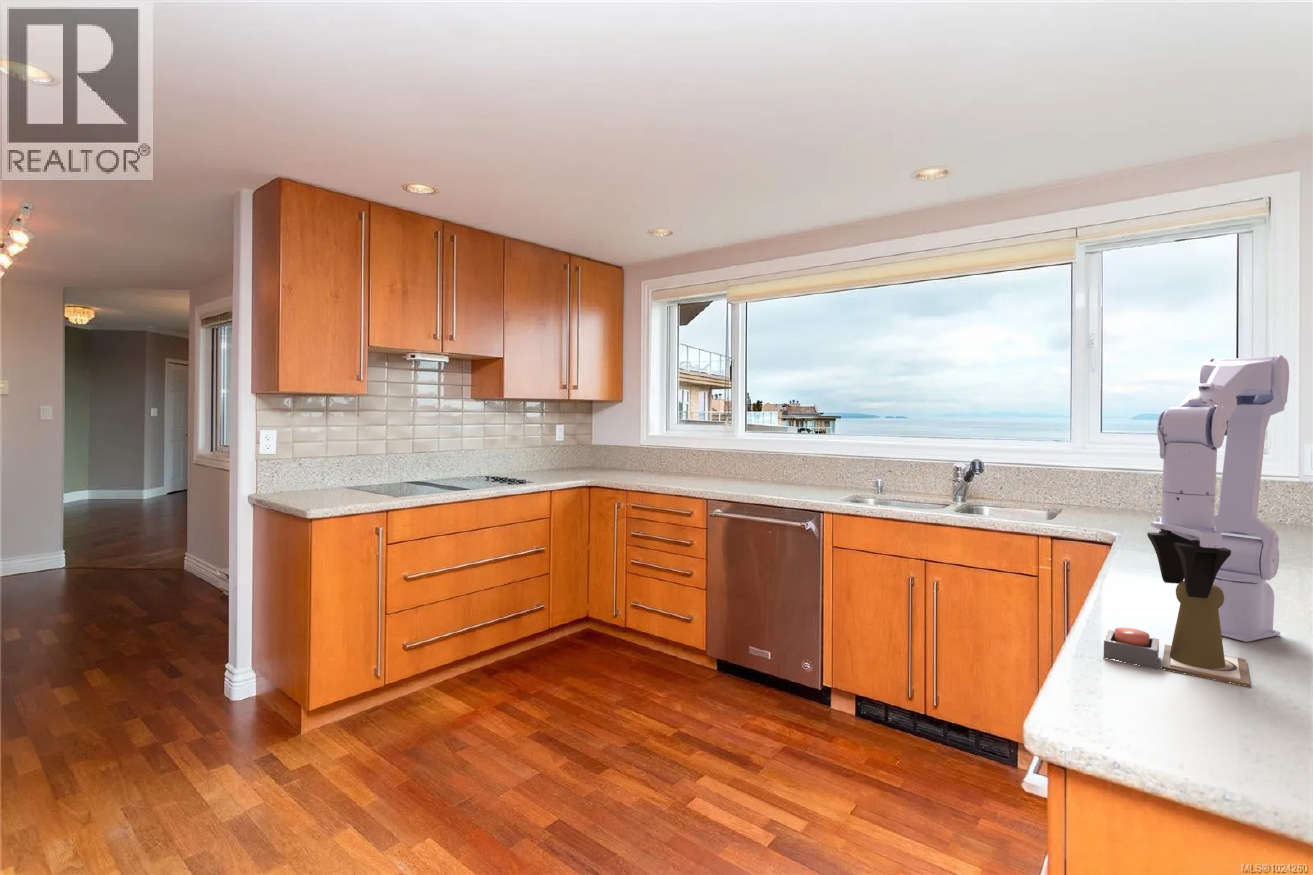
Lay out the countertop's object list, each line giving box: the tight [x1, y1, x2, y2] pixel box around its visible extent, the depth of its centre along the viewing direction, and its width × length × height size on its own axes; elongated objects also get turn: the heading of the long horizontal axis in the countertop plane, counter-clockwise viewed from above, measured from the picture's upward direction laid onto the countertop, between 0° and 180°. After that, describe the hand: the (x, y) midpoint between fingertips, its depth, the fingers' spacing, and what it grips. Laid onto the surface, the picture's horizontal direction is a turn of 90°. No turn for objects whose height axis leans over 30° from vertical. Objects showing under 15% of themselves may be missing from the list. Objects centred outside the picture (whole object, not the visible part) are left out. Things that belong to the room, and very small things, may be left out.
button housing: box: [1103, 629, 1160, 670], centre depth 94 cm, size 6×6×3 cm
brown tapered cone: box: [1170, 580, 1226, 669], centre depth 91 cm, size 6×6×11 cm
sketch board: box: [1161, 644, 1251, 688], centre depth 91 cm, size 11×9×1 cm
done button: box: [1114, 627, 1150, 647], centre depth 93 cm, size 4×4×2 cm
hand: (1184, 589), depth 91 cm, fingers open, 7 cm apart
